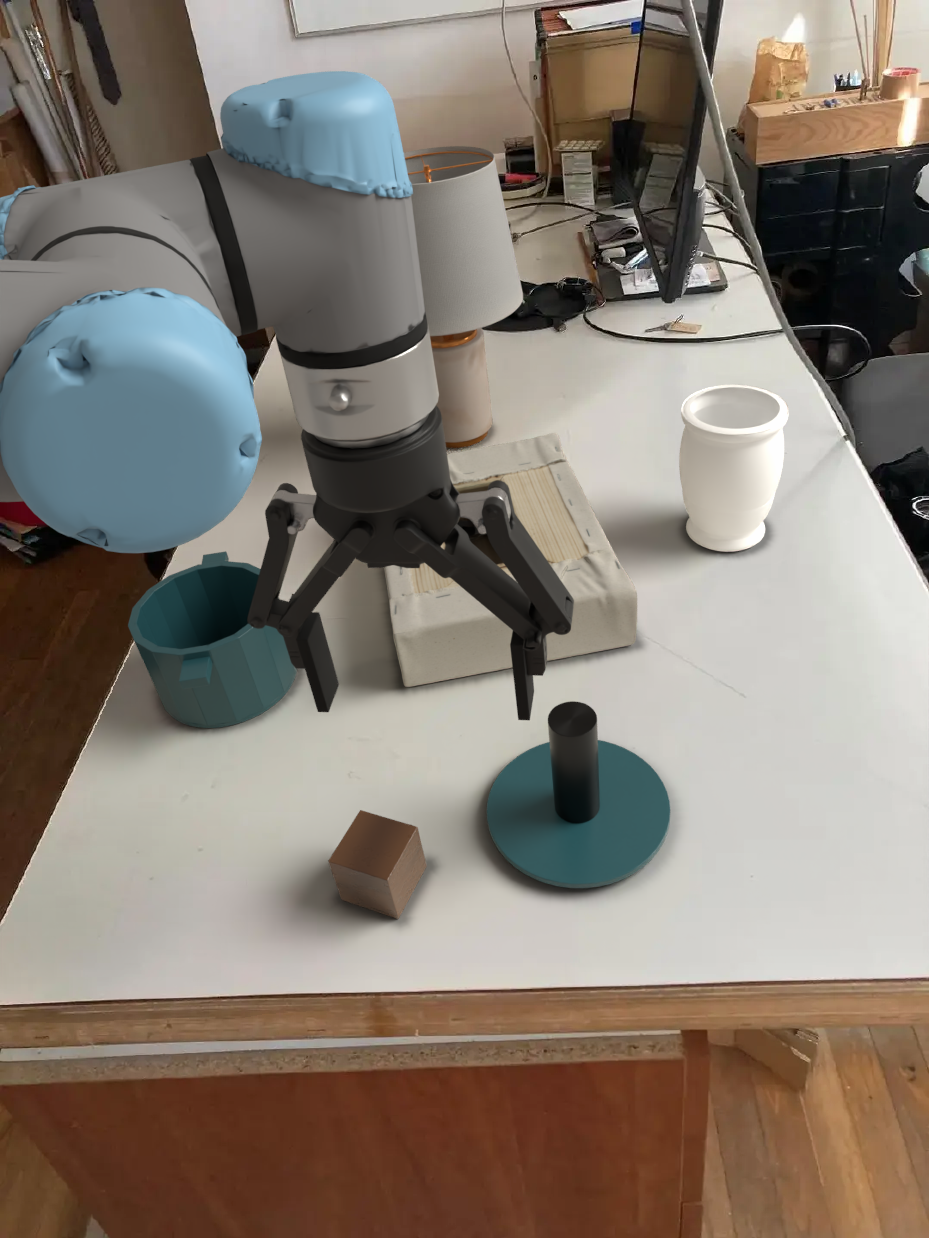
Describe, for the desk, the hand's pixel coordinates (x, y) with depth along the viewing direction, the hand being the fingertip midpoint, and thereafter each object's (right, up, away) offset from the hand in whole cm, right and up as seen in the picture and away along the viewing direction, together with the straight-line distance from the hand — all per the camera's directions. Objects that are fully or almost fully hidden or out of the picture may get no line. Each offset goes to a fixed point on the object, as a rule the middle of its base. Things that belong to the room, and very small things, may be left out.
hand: (425, 702), depth 62 cm
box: (+6, +10, +39) cm, 41 cm away
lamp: (+2, +31, +64) cm, 71 cm away
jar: (+31, +15, +40) cm, 53 cm away
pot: (-21, 0, +31) cm, 37 cm away
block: (-4, -15, +10) cm, 18 cm away
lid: (+12, -10, +13) cm, 20 cm away
